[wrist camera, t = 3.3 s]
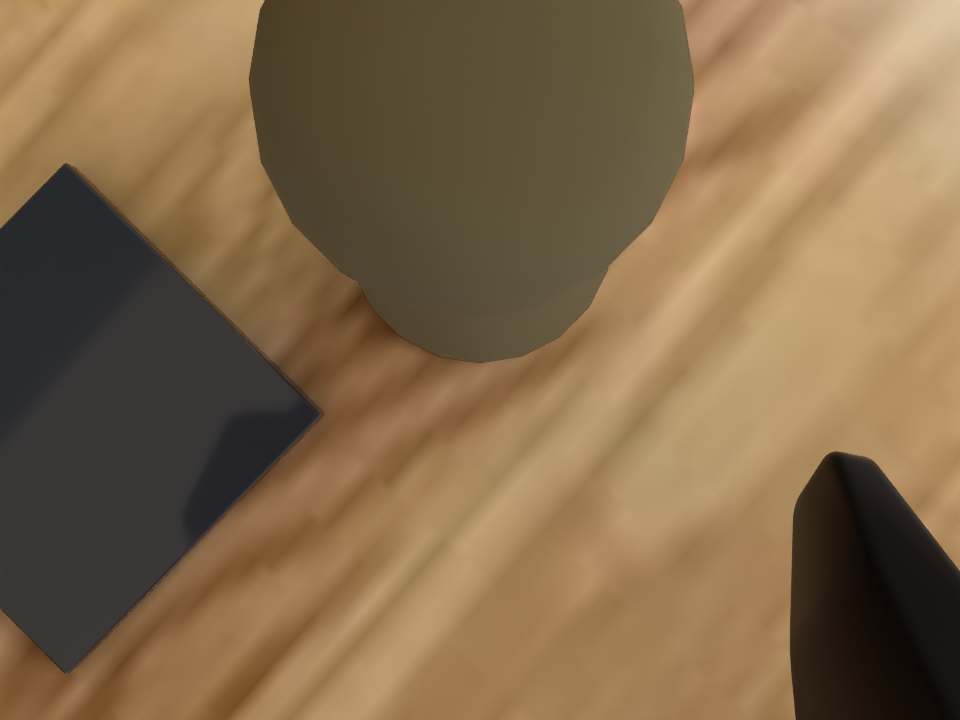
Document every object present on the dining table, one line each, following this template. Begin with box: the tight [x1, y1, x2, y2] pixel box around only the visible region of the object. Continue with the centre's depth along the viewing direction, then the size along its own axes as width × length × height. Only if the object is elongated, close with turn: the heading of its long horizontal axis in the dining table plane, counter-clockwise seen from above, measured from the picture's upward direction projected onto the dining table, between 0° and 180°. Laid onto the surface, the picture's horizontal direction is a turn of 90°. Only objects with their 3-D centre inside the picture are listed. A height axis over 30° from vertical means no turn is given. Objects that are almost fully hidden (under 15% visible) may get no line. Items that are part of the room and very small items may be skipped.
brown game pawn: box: [249, 0, 694, 363], centre depth 14 cm, size 6×6×11 cm
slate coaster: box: [0, 163, 324, 674], centre depth 20 cm, size 8×8×1 cm
